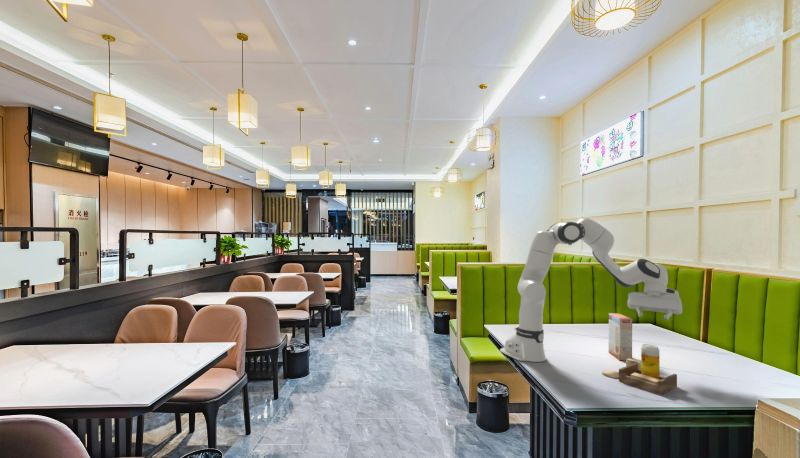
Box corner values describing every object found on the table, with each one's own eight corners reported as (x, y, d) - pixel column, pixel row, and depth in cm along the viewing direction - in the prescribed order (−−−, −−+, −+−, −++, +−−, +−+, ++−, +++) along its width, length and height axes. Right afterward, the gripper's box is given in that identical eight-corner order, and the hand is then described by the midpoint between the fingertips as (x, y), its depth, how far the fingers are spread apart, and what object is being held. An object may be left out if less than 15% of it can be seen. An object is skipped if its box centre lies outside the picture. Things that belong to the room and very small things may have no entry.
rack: (618, 381, 142) (618, 368, 142) (635, 374, 150) (635, 363, 150) (661, 395, 129) (661, 381, 130) (677, 387, 137) (676, 374, 137)
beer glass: (637, 379, 144) (637, 343, 144) (651, 379, 144) (651, 343, 145) (649, 385, 138) (649, 348, 138) (663, 385, 138) (663, 348, 139)
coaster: (598, 373, 150) (598, 372, 150) (607, 370, 154) (607, 369, 154) (618, 380, 143) (618, 378, 143) (627, 376, 147) (627, 375, 147)
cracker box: (633, 362, 166) (632, 318, 167) (619, 360, 168) (619, 317, 169) (620, 353, 180) (620, 313, 181) (608, 352, 181) (608, 312, 182)
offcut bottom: (630, 384, 140) (630, 374, 140) (634, 382, 142) (634, 372, 142) (656, 392, 132) (656, 382, 132) (660, 390, 135) (660, 379, 135)
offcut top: (629, 365, 162) (626, 366, 160) (629, 358, 162) (626, 359, 160) (643, 369, 157) (640, 370, 155) (643, 362, 157) (640, 363, 155)
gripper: (627, 287, 166) (624, 310, 158) (682, 291, 152) (681, 316, 144) (629, 295, 169) (626, 318, 161) (683, 300, 155) (682, 325, 148)
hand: (652, 317), depth 153 cm, fingers open, 8 cm apart
